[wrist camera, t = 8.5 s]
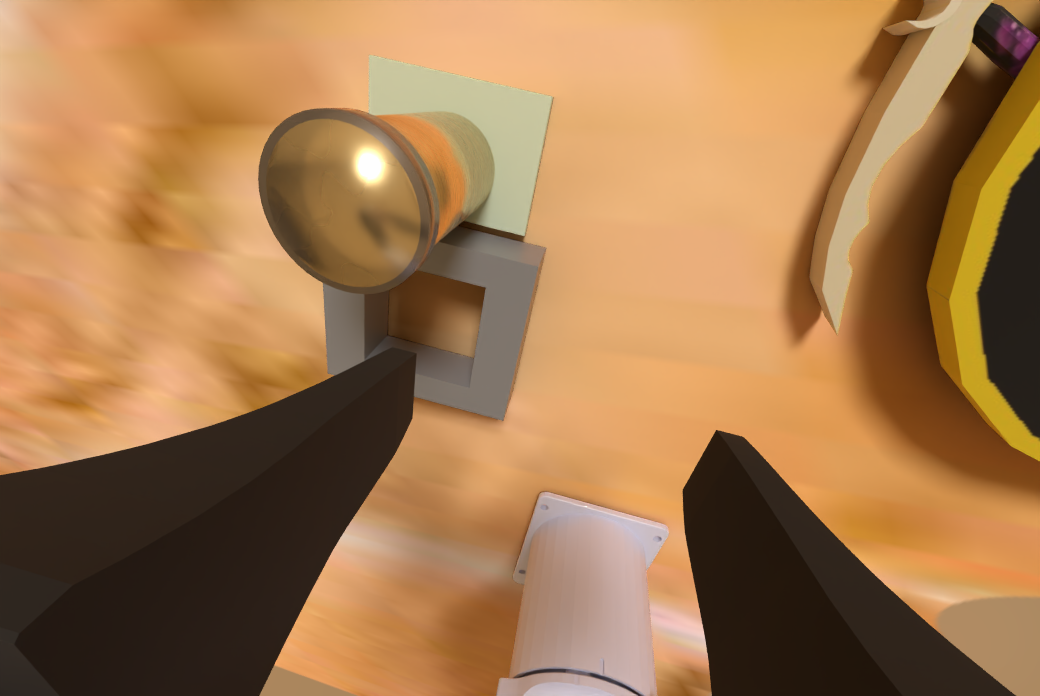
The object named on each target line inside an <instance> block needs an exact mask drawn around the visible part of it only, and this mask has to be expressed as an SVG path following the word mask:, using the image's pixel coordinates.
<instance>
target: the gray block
mask: <svg viewBox="0 0 1040 696" xmlns="http://www.w3.org/2000/svg"><path fill="white" fill-rule="evenodd" d="M545 251H546V248H545V247H541V246H537V245H533V244H528V243H524V242H520V241H516V240H512V239H508V238H504V237H500V236H496V235H492V234H488V233H484V232H480V231H476V230H472V229H468V228H464V227H460V226H457V227H455V228H454V229H453V230H452V231H451V232H450V233H448V234H447V235H446V236H445V237H444V238H442V239H441V240H440V241H439V242H438V243H436V244H435V245H434V247H433V249H432V251H431V253H430V255H429V256H428V258H427V259H426V261H425V262H424V263H423V264H422V265H421V266H420V268H418V269H417V270H419V271H422V272H426V273H430V274H434V275H438V276H442V277H446V278H450V279H454V280H458V281H462V282H466V283H470V284H474V285H478V286H481V287H485V288H486V290H485V296H484V302H483V308H482V314H481V320H480V326H479V332H478V338H477V345H476V351H475V357H474V358H471V357H468V356H464V355H460V354H456V353H452V352H449V351H445V350H441V349H437V348H433V347H430V346H426V345H422V344H418V343H414V342H411V341H407V340H403V339H399V338H395V337H392V336H388V335H387V331H388V301H389V290H387V291H384V292H380V293H375V294H355V293H349V292H345V291H342V290H338V289H335V288H333V287H331V286H328V285H326V284H324V283H323V292H324V311H325V329H326V348H327V366H328V374H332V375H337V374H339V373H341V372H343V371H345V370H347V369H349V368H351V367H353V366H355V365H357V364H359V363H361V362H363V361H365V360H367V359H369V358H371V357H373V356H375V355H377V354H379V353H381V352H383V351H385V350H387V349H390V348H392V347H394V348H398V349H402V350H406V351H410V352H414V353H417V357H416V372H415V387H414V397H417V398H421V399H425V400H428V401H432V402H436V403H439V404H443V405H447V406H450V407H454V408H458V409H462V410H465V411H469V412H473V413H476V414H480V415H484V416H488V417H491V418H495V419H499V420H502V421H503V420H504V417H505V414H506V411H507V408H508V405H509V402H510V399H511V396H512V392H513V389H514V384H515V380H516V376H517V372H518V367H519V363H520V359H521V354H522V350H523V346H524V341H525V337H526V333H527V329H528V324H529V320H530V316H531V311H532V307H533V303H534V298H535V294H536V290H537V286H538V281H539V277H540V273H541V268H542V264H543V260H544V256H545Z"/></svg>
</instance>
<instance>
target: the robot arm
mask: <svg viewBox="0 0 1040 696" xmlns="http://www.w3.org/2000/svg"><path fill="white" fill-rule="evenodd" d="M416 357H417V353H414V352H410V351H406V350H402V349H398V348H394V347H392V348H390V349H387V350H385V351H383V352H381V353H379V354H377V355H375V356H373V357H371V358H369V359H367V360H365V361H363V362H361V363H359V364H357V365H355V366H353V367H351V368H349V369H347V370H345V371H343V372H341V373H339V374H337V375H335V376H333V377H331V378H329V379H327V380H325V381H323V382H321V383H319V384H316V385H314V386H312V387H310V388H307V389H305V390H303V391H300V392H298V393H296V394H294V395H291V396H289V397H287V398H284V399H282V400H280V401H278V402H275V403H273V404H270V405H268V406H265V407H263V408H260V409H257V410H255V411H252V412H249V413H247V414H244V415H241V416H238V417H235V418H232V419H229V420H227V421H224V422H221V423H218V424H215V425H212V426H208V427H205V428H202V429H198V430H195V431H191V432H188V433H184V434H181V435H177V436H174V437H170V438H167V439H163V440H160V441H157V442H153V443H150V444H146V445H142V446H138V447H134V448H130V449H126V450H122V451H117V452H113V453H109V454H105V455H100V456H96V457H91V458H87V459H82V460H78V461H73V462H68V463H64V464H59V465H54V466H49V467H44V468H39V469H33V470H28V471H22V472H16V473H11V474H5V475H0V696H259V695H260V693H261V691H262V689H263V687H264V684H265V683H266V681H267V679H268V677H269V675H270V673H271V670H272V668H273V666H274V664H275V662H276V660H277V658H278V656H279V654H280V652H281V650H282V648H283V646H284V644H285V642H286V640H287V638H288V636H289V634H290V632H291V630H292V628H293V626H294V624H295V622H296V620H297V618H298V616H299V614H300V612H301V610H302V608H303V606H304V604H305V602H306V600H307V598H308V596H309V594H310V592H311V590H312V589H313V587H314V585H315V583H316V581H317V579H318V577H319V575H320V573H321V572H322V570H323V568H324V566H325V564H326V562H327V560H328V558H329V556H330V555H331V553H332V551H333V549H334V547H335V546H336V544H337V542H338V541H339V539H340V537H341V536H342V534H343V533H344V531H345V529H346V528H347V526H348V525H349V523H350V522H351V520H352V519H353V517H354V516H355V514H356V513H357V511H358V510H359V508H360V507H361V505H362V504H363V502H364V501H365V499H366V498H367V496H368V495H369V493H370V491H371V490H372V488H373V487H374V485H375V484H376V482H377V481H378V479H379V478H380V476H381V475H382V473H383V472H384V470H385V469H386V467H387V466H388V464H389V462H390V461H391V459H392V458H393V456H394V455H395V453H396V451H397V449H398V447H399V445H400V443H401V441H402V439H403V437H404V435H405V433H406V431H407V429H408V426H409V424H410V422H411V420H412V416H413V401H414V387H415V372H416ZM543 504H544V505H543ZM683 512H684V526H685V535H686V541H687V546H688V552H689V557H690V562H691V568H692V573H693V578H694V583H695V588H696V593H697V598H698V603H699V608H700V613H701V618H702V624H703V629H704V634H705V640H706V647H707V653H708V660H709V670H710V680H711V691H712V696H1016V695H1014V694H1013V693H1012V692H1010V691H1009V690H1008V689H1007V688H1005V687H1004V686H1003V685H1002V684H1000V683H999V682H998V681H996V679H994V678H993V677H992V676H991V675H989V674H988V673H987V672H986V671H984V670H983V669H982V668H981V667H980V666H978V665H977V664H976V663H975V662H973V661H972V660H971V659H970V658H969V657H967V656H966V655H965V654H964V653H962V652H961V651H960V650H959V649H958V648H956V647H955V646H954V645H953V644H951V643H950V642H949V641H948V640H947V639H946V638H944V637H943V636H942V635H941V634H940V633H939V632H937V631H936V630H935V629H934V628H933V627H932V626H930V625H929V624H928V623H927V622H926V621H925V620H924V619H922V618H921V617H920V616H919V615H918V614H917V613H916V612H915V611H914V610H912V609H911V608H910V607H909V606H908V605H907V604H906V603H905V602H904V601H902V600H901V599H900V598H899V597H898V596H897V595H896V594H895V593H894V592H892V591H891V590H890V589H889V588H888V587H887V586H886V585H885V584H884V583H883V582H882V581H881V580H879V579H878V578H877V577H876V576H875V575H874V574H873V573H872V572H871V571H870V570H869V569H868V568H867V567H866V566H865V565H864V564H863V563H862V562H861V561H860V560H859V559H858V558H857V557H856V556H855V555H854V554H853V553H852V552H851V551H850V550H849V549H848V548H847V547H846V546H845V545H844V544H843V543H842V542H841V541H840V540H839V539H838V538H837V537H836V536H835V535H834V534H833V533H832V532H831V531H830V530H829V529H828V528H827V527H826V526H825V525H824V523H823V522H822V521H821V520H820V519H819V518H818V517H817V516H816V515H815V514H814V513H813V512H812V511H811V510H810V509H809V507H808V506H807V505H806V504H805V503H804V502H803V501H802V500H801V499H800V498H799V497H798V495H797V494H796V493H795V492H794V491H793V490H792V489H791V488H790V487H789V485H788V484H787V483H786V482H785V481H784V480H783V479H782V478H781V477H780V475H779V474H778V473H777V472H776V471H775V470H774V469H773V468H772V467H771V465H770V464H769V463H768V462H767V461H766V460H765V459H764V458H763V457H762V456H761V455H760V453H759V452H758V451H757V450H756V449H755V448H754V447H753V446H752V445H751V444H750V443H749V442H748V441H747V440H746V439H745V438H744V437H742V436H738V435H734V434H730V433H726V432H722V431H718V430H716V432H715V433H714V435H713V437H712V439H711V441H710V442H709V444H708V446H707V448H706V449H705V451H704V453H703V455H702V457H701V458H700V460H699V462H698V464H697V465H696V467H695V469H694V471H693V473H692V474H691V476H690V478H689V480H688V481H687V483H686V485H685V487H684V489H683ZM668 535H669V530H668V527H667V526H666V525H664V524H662V523H658V522H655V521H651V520H647V519H644V518H640V517H636V516H633V515H629V514H626V513H622V512H618V511H615V510H611V509H608V508H604V507H600V506H597V505H593V504H590V503H586V502H582V501H579V500H575V499H572V498H568V497H564V496H561V495H557V494H554V493H550V492H542V493H540V494H539V497H538V500H537V503H536V506H535V509H534V512H533V515H532V518H531V521H530V524H529V527H528V530H527V533H526V536H525V539H524V543H523V546H522V549H521V552H520V555H519V558H518V561H517V564H516V567H515V570H514V573H513V580H514V581H515V582H516V583H519V584H522V585H524V589H523V595H522V601H521V607H520V613H519V619H518V624H517V630H516V636H515V642H514V648H513V654H512V660H511V666H510V671H509V677H508V678H503V677H501V678H499V683H498V688H497V693H496V696H657V688H656V676H655V665H654V653H653V641H652V629H651V618H650V606H649V594H648V582H647V570H648V568H649V566H650V565H651V563H652V561H653V560H654V558H655V557H656V555H657V553H658V552H659V550H660V548H661V547H662V545H663V544H664V542H665V540H666V539H667V537H668Z"/></svg>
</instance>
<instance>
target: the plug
mask: <svg viewBox="0 0 1040 696" xmlns="http://www.w3.org/2000/svg"><path fill="white" fill-rule="evenodd" d="M494 176H495V164H494V158H493V154H492V150H491V148H490V145H489V143H488V141H487V139H486V138H485V136H484V135H483V133H482V132H481V131H480V130H479V128H478V127H477V126H476V125H475V124H473V123H472V122H471V121H470V120H468V119H467V118H465V117H463V116H461V115H459V114H456V113H453V112H447V111H435V112H420V113H404V114H388V115H372V114H370V113H366V112H363V111H360V110H356V109H349V108H324V109H311V110H306V111H302V112H299V113H297V114H294V115H292V116H291V117H289V118H287V119H286V120H284V121H283V122H282V123H281V124H280V125H279V126H277V127H276V129H275V130H274V131H273V132H272V134H271V135H270V136H269V138H268V140H267V142H266V144H265V146H264V149H263V152H262V155H261V159H260V164H259V175H258V181H259V192H260V198H261V203H262V206H263V210H264V213H265V216H266V218H267V221H268V223H269V225H270V227H271V229H272V231H273V233H274V235H275V237H276V238H277V240H278V241H279V243H280V244H281V246H282V247H283V248H284V250H285V251H286V252H287V253H288V255H289V256H290V257H291V258H292V259H293V260H294V261H295V262H296V263H297V264H298V265H299V266H300V267H301V268H302V269H304V270H305V271H306V272H307V273H309V274H310V275H311V276H313V277H314V278H316V279H317V280H319V281H321V282H323V283H324V284H326V285H328V286H331V287H333V288H335V289H338V290H342V291H345V292H349V293H355V294H375V293H380V292H384V291H387V290H390V289H392V288H394V287H396V286H398V285H399V284H401V283H402V282H403V281H405V280H406V279H407V278H408V277H409V276H411V275H412V274H413V273H414V272H415V271H416V270H417V269H418V268H420V266H421V265H422V264H423V263H424V262H425V261H426V259H427V258H428V256H429V255H430V253H431V251H432V249H433V247H434V245H435V244H436V243H438V242H439V241H440V240H441V239H442V238H444V237H445V236H446V235H447V234H448V233H450V232H451V231H452V230H453V229H454V228H455V227H457V226H458V225H459V224H460V223H461V222H463V221H464V220H465V219H466V218H467V217H469V216H470V215H471V214H472V213H473V212H475V211H476V210H477V209H478V208H479V207H480V206H481V205H482V204H483V203H484V202H485V201H486V199H487V198H488V196H489V194H490V192H491V189H492V186H493V182H494Z"/></svg>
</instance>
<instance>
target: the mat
mask: <svg viewBox="0 0 1040 696" xmlns="http://www.w3.org/2000/svg"><path fill="white" fill-rule="evenodd" d="M553 98H554V97H552V96H548V95H543V94H539V93H535V92H530V91H526V90H522V89H517V88H513V87H509V86H504V85H500V84H495V83H491V82H487V81H482V80H478V79H474V78H469V77H465V76H461V75H456V74H452V73H447V72H443V71H439V70H434V69H430V68H426V67H421V66H417V65H413V64H408V63H404V62H399V61H395V60H391V59H386V58H382V57H378V56H373V55H369V113H370V114H372V115H388V114H404V113H420V112H435V111H447V112H453V113H456V114H459V115H461V116H463V117H465V118H467V119H468V120H470V121H471V122H472V123H473V124H475V125H476V126H477V127H478V128H479V130H480V131H481V132H482V133H483V135H484V136H485V138H486V139H487V141H488V143H489V145H490V148H491V150H492V154H493V158H494V164H495V176H494V182H493V186H492V189H491V192H490V194H489V196H488V198H487V199H486V201H485V202H484V203H483V204H482V205H481V206H480V207H479V208H478V209H477V210H476V211H475V212H473V213H472V214H471V215H470V216H469V217H467V218H466V219H465V220H464V221H466V222H470V223H474V224H478V225H482V226H486V227H490V228H494V229H498V230H502V231H506V232H510V233H514V234H518V235H522V236H525V234H526V231H527V226H528V221H529V216H530V211H531V206H532V201H533V196H534V191H535V186H536V181H537V177H538V172H539V167H540V162H541V157H542V152H543V147H544V142H545V137H546V132H547V127H548V122H549V117H550V113H551V108H552V103H553Z"/></svg>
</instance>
